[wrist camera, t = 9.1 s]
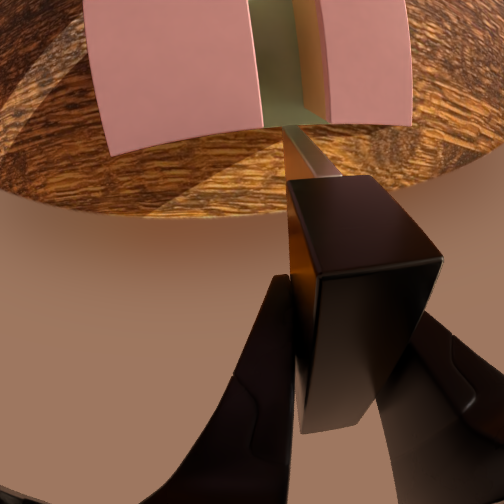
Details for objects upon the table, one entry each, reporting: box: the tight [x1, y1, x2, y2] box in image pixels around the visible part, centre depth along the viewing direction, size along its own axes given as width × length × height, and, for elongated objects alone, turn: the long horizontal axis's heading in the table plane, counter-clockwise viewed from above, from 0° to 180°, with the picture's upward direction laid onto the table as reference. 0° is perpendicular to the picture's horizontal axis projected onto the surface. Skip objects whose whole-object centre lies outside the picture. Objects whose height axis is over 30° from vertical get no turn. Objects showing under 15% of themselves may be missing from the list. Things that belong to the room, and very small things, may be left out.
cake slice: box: [292, 0, 412, 127], centre depth 7 cm, size 6×3×4 cm, turn 7°
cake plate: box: [248, 0, 330, 128], centre depth 9 cm, size 8×12×1 cm, turn 96°
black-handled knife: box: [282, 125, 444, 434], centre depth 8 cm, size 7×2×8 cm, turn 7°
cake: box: [82, 0, 264, 157], centre depth 7 cm, size 6×5×4 cm
